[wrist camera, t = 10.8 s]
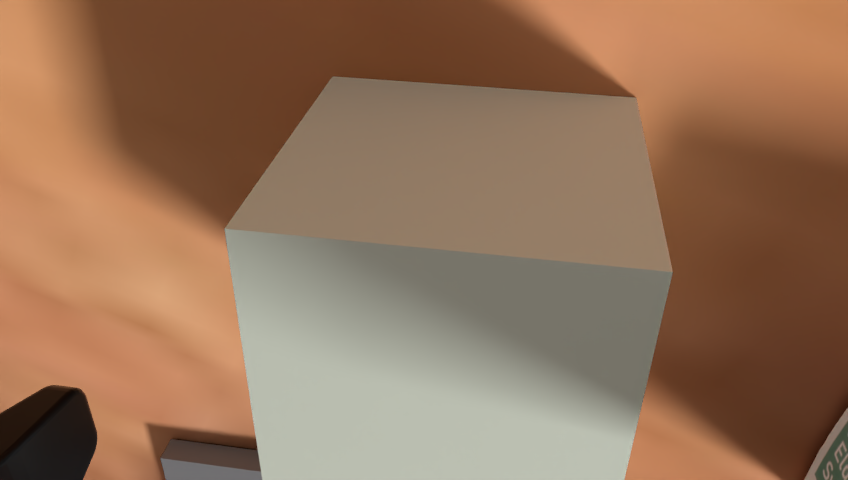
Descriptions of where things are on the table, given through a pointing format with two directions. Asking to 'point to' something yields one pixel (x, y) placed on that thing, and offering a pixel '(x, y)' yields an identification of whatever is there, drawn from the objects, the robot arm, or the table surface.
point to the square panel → (209, 462)
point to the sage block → (451, 285)
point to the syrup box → (832, 454)
